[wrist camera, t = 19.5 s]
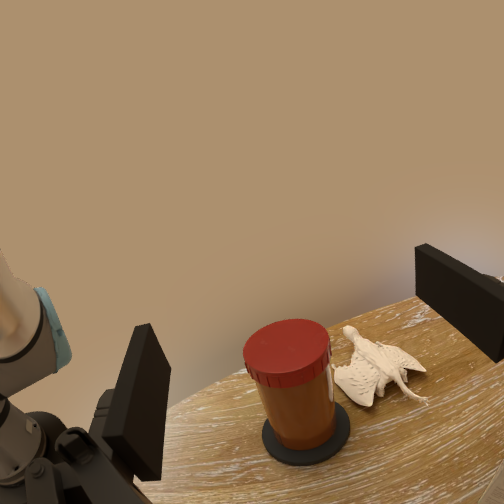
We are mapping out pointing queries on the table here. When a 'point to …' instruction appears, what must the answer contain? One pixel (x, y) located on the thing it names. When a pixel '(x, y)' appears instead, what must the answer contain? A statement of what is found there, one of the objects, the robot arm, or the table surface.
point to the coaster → (309, 455)
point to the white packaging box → (494, 488)
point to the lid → (287, 353)
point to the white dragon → (374, 369)
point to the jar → (301, 412)
